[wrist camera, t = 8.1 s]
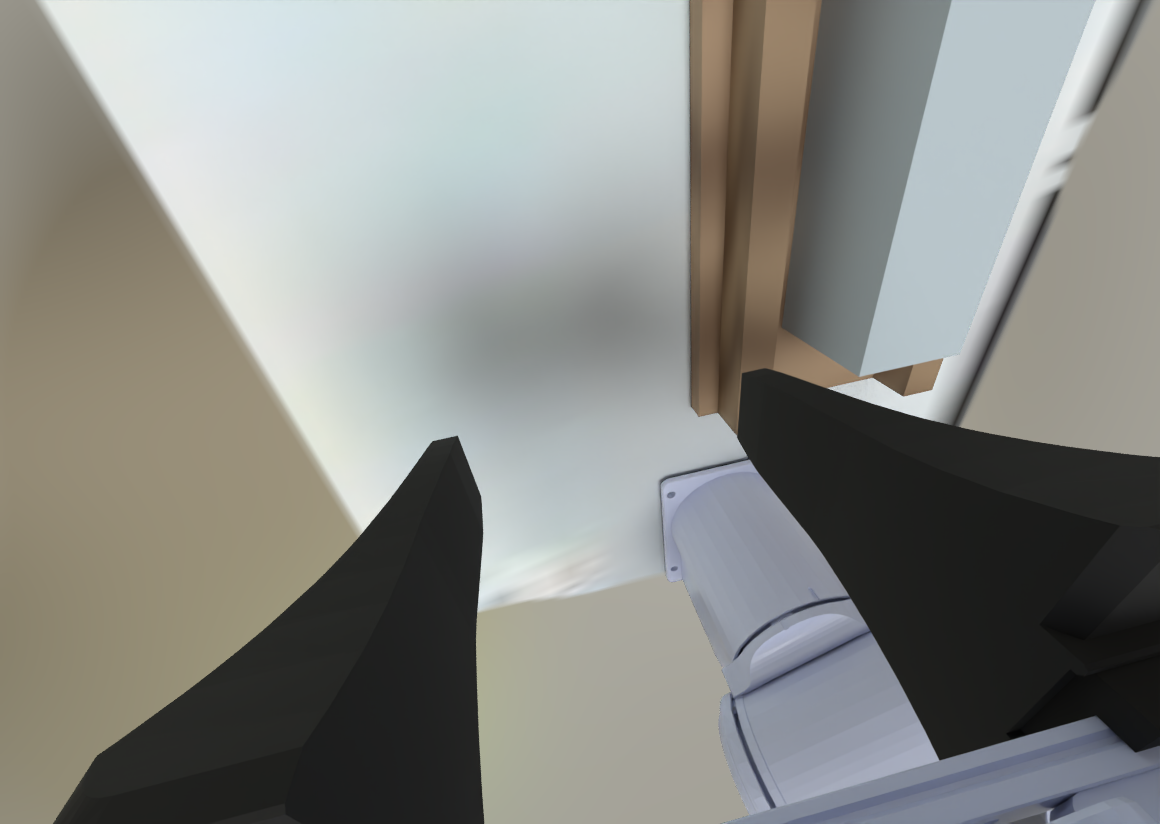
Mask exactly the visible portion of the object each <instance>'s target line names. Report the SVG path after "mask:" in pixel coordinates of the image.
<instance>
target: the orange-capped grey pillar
mask: <svg viewBox="0 0 1160 824" xmlns="http://www.w3.org/2000/svg"><path fill="white" fill-rule="evenodd" d="M1094 3H1095V0H822V4H821V12H820V20H819V28H818V36H817V45H816V53H815V61H814V69H813V77H812V86H811V94H810V102H809V110H808V118H807V126H806V135H805V143H804V151H803V159H802V167H801V175H800V184H799V192H798V200H797V208H796V216H795V225H794V233H793V241H792V249H791V257H790V265H789V274H788V282H787V290H786V298H785V306H784V314H783V323H782V328H783V329H785V330H786V331H788V332H790V333H791V334H793V335H794V336H796V337H797V338H799V339H801V340H802V341H804V342H805V343H807V344H808V345H810V346H811V347H813V348H815V349H816V350H818V351H819V352H821V353H822V354H824V355H825V356H827V357H829V358H830V359H832V360H833V361H835V362H836V363H838V364H840V365H841V366H843V367H844V368H846V369H847V370H849V371H850V372H852V373H854V374H855V375H857V376H858V377H861V376H866V375H870V374H874V373H879V372H883V371H888V370H892V369H897V368H901V367H906V366H910V365H914V364H919V363H923V362H928V361H932V360H937V359H941V358H946V357H950V356H954V355H959V354H960V352H961V349H962V347H963V344H964V342H965V339H966V336H967V334H968V331H969V329H970V326H971V323H972V321H973V318H974V316H975V313H976V310H977V308H978V305H979V303H980V300H981V297H982V295H983V292H984V289H985V287H986V284H987V282H988V279H989V276H990V274H991V271H992V269H993V266H994V263H995V261H996V258H997V256H998V253H999V250H1000V248H1001V245H1002V243H1003V240H1004V237H1005V235H1006V232H1007V230H1008V227H1009V224H1010V222H1011V219H1012V217H1013V214H1014V211H1015V209H1016V206H1017V203H1018V201H1019V198H1020V196H1021V193H1022V190H1023V188H1024V185H1025V183H1026V180H1027V177H1028V175H1029V172H1030V170H1031V167H1032V164H1033V162H1034V159H1035V157H1036V154H1037V151H1038V149H1039V146H1040V144H1041V141H1042V138H1043V136H1044V133H1045V131H1046V128H1047V125H1048V123H1049V120H1050V117H1051V115H1052V112H1053V110H1054V107H1055V104H1056V102H1057V99H1058V97H1059V94H1060V91H1061V89H1062V86H1063V84H1064V81H1065V78H1066V76H1067V73H1068V71H1069V68H1070V65H1071V63H1072V60H1073V58H1074V55H1075V52H1076V50H1077V47H1078V44H1079V42H1080V39H1081V37H1082V34H1083V31H1084V29H1085V26H1086V24H1087V21H1088V18H1089V16H1090V13H1091V11H1092V8H1093V5H1094Z"/></svg>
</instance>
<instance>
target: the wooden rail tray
mask: <svg viewBox="0 0 1160 824" xmlns="http://www.w3.org/2000/svg"><path fill="white" fill-rule="evenodd" d="M821 4H822V0H690V155H691V407H692V408H693V409H694V411H695V412H696V413H697V415H698V416H699V417H700V416H705V415H709V414H713V413H719V415H720V416H721V417H722V418H723V419H724V421H725V422H726V423H727V424H728V425H729V427H730V428H731V429H732V430H733V431H734V433H735V434H736V435H737V434H738V420H739V406H740V392H741V378H742V373H745V372H749V371H754V370H758V369H763V368H767V369H771V370H775V371H778V372H781V373H784V374H787V375H790V376H793V377H796V378H799V379H802V380H805V381H808V382H810V383H813V384H816V385H819V386H822V387H824V388H829V387H833V386H837V385H842V384H846V383H851V382H855V381H860V380H864V379H868V378H874V379H876V380H877V381H879V382H881V383H882V384H884V385H886V386H887V387H889V388H890V389H892V390H894V391H895V392H897V393H899V394H900V395H902V396H908V395H912V394H916V393H921V392H925V391H929V390H932V388H933V386H934V383H935V380H936V377H937V375H938V372H939V369H940V366H941V364H942V361H943V358H941V359H937V360H932V361H928V362H923V363H919V364H914V365H910V366H906V367H901V368H897V369H892V370H888V371H883V372H879V373H874V374H870V375H866V376H861V377H858V376H857V375H855V374H854V373H852V372H850V371H849V370H847V369H846V368H844V367H843V366H841V365H840V364H838V363H836V362H835V361H833V360H832V359H830V358H829V357H827V356H825V355H824V354H822V353H821V352H819V351H818V350H816V349H815V348H813V347H811V346H810V345H808V344H807V343H805V342H804V341H802V340H801V339H799V338H797V337H796V336H794V335H793V334H791V333H790V332H788V331H786V330H785V329H783V328H782V323H783V314H784V306H785V298H786V290H787V282H788V274H789V265H790V257H791V249H792V241H793V233H794V225H795V216H796V208H797V200H798V192H799V184H800V175H801V167H802V159H803V151H804V143H805V135H806V126H807V118H808V110H809V102H810V94H811V86H812V77H813V69H814V61H815V53H816V45H817V36H818V28H819V20H820V12H821Z"/></svg>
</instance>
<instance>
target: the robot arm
mask: <svg viewBox="0 0 1160 824" xmlns="http://www.w3.org/2000/svg"><path fill="white" fill-rule="evenodd" d="M737 438H738V440H739V442H740V444H741V445H742V447H743V449H744V451H745V452H746V454H747V456H748V458H749V459H750V460H746V461H742V462H737V463H733V464H729V465H725V466H720V467H716V468H712V469H707V470H703V471H699V472H695V473H690V474H686V475H682V476H678V477H673V478H669V479H666V480H665V481H663V482H662V484H661V500H662V517H663V534H664V551H665V568H666V577H667V579H668V581H670V582H676V581H680V580H683V582H684V584H685V586H686V589H687V591H688V593H689V596H690V598H691V600H692V602H693V605H694V607H695V609H696V612H697V614H698V616H699V618H700V621H701V623H702V626H703V628H704V630H705V632H706V635H707V637H708V639H709V642H710V644H711V646H712V649H713V651H714V653H715V656H716V657H717V659H718V661H719V663H720V664H721V666H722V667H723V669H722V672H723V674H724V677H725V679H726V681H727V684H728V686H729V688H730V691H731V692H729V693H727V694H725V695H724V696H723V697H722V699H721V701H720V715H719V734H720V739H721V743H722V747H723V751H724V754H725V757H726V760H727V763H728V766H729V769H730V772H731V774H732V777H733V779H734V782H735V784H736V786H737V789H738V791H739V794H740V796H741V798H742V800H743V802H744V805H745V807H746V809H747V811H748V813H749V816H746V817H742V818H738V819H735V820H731V821H728V822H724V823H721V824H1160V457H1149V456H1139V455H1129V454H1121V453H1113V452H1104V451H1097V450H1089V449H1081V448H1073V447H1066V446H1059V445H1053V444H1046V443H1040V442H1033V441H1028V440H1022V439H1017V438H1011V437H1006V436H1000V435H995V434H989V433H984V432H979V431H974V430H969V429H965V428H961V427H956V426H952V425H948V424H944V423H940V422H935V421H931V420H927V419H923V418H919V417H916V416H912V415H908V414H905V413H901V412H898V411H895V410H891V409H888V408H885V407H881V406H878V405H875V404H871V403H868V402H865V401H862V400H859V399H856V398H853V397H850V396H847V395H844V394H841V393H839V392H836V391H833V390H830V389H827V388H824V387H822V386H819V385H816V384H813V383H810V382H808V381H805V380H802V379H799V378H796V377H793V376H790V375H787V374H784V373H781V372H778V371H775V370H771V369H767V368H763V369H758V370H754V371H749V372H745V373H742V378H741V392H740V406H739V420H738V434H737ZM669 492H671V493H669ZM668 493H669V494H668ZM482 543H483V518H482V502H481V495H480V492H479V490H478V487H477V485H476V482H475V479H474V477H473V474H472V472H471V469H470V467H469V464H468V461H467V459H466V456H465V454H464V451H463V448H462V446H461V443H460V441H459V438H458V436H455V437H450V438H445V439H441V440H436V441H432V443H431V444H430V445H429V447H428V448H427V449H426V451H425V452H424V453H423V455H422V456H421V458H420V459H419V460H418V462H417V463H416V465H415V466H414V468H413V469H412V470H411V472H410V473H409V474H408V476H407V477H406V479H405V480H404V481H403V483H402V484H401V485H400V487H399V488H398V489H397V491H396V492H395V493H394V495H393V496H392V497H391V499H390V500H389V501H388V503H387V504H386V505H385V506H384V507H383V509H382V510H381V511H380V512H379V514H378V515H377V516H376V517H375V518H374V520H373V521H372V522H371V523H370V524H369V526H368V527H367V528H366V529H365V531H364V532H363V533H362V534H361V535H360V537H359V538H358V539H357V540H356V541H355V542H354V543H353V544H352V546H351V547H350V548H349V549H348V550H347V551H346V552H345V553H344V554H343V555H342V556H341V558H339V559H338V561H336V562H335V564H334V565H333V566H332V567H331V568H330V569H329V570H328V571H327V572H326V573H325V574H324V575H323V576H322V577H321V578H320V579H319V580H318V581H317V582H316V583H315V584H314V585H313V586H311V587H310V588H309V589H308V590H307V591H306V592H305V593H304V594H303V595H302V596H300V598H298V599H297V600H296V601H295V602H294V603H293V604H292V605H291V606H290V607H288V608H287V609H286V610H285V611H284V612H283V613H282V614H281V615H280V616H279V617H277V618H276V619H275V620H274V621H273V622H272V623H271V624H270V625H269V626H267V627H266V628H265V629H264V630H263V631H262V632H261V633H259V634H258V635H257V636H256V637H254V638H253V639H252V640H251V641H250V642H248V643H247V644H246V645H245V646H244V647H242V648H241V649H240V650H239V651H238V652H236V653H235V654H234V655H233V656H231V657H230V658H229V659H227V660H226V661H225V662H224V663H223V664H221V665H220V666H219V667H217V668H216V669H215V670H214V671H212V672H211V673H210V674H209V675H207V676H206V677H205V678H203V679H202V680H201V681H200V682H199V683H197V684H196V685H194V686H193V687H192V688H190V689H189V690H188V691H186V692H185V693H184V694H183V695H181V696H180V697H178V698H177V699H175V700H174V701H173V702H171V703H170V704H169V705H167V706H166V707H164V708H163V709H162V710H160V711H159V712H158V713H156V714H155V715H154V716H152V717H151V718H149V719H148V720H147V721H145V722H144V723H143V724H141V725H140V726H138V727H137V728H136V729H134V730H133V731H131V732H130V733H129V734H127V735H126V736H125V737H123V738H122V739H120V740H119V741H118V742H116V743H115V744H113V745H112V746H111V747H109V748H108V749H106V750H105V751H103V752H102V753H100V754H99V755H98V756H97V757H96V758H95V759H94V761H93V762H92V764H91V766H90V767H89V769H88V770H87V772H86V773H85V775H84V777H83V778H82V780H81V781H80V783H79V784H78V786H77V787H76V789H75V791H74V792H73V794H72V795H71V797H70V798H69V800H68V802H67V803H66V805H65V806H64V808H63V809H62V811H61V812H60V814H59V815H58V817H57V818H56V820H55V822H54V823H53V824H484V813H483V799H482V786H481V785H482V784H481V768H480V767H481V766H480V750H479V749H480V748H479V730H478V703H477V673H476V622H477V620H476V619H477V608H478V595H479V583H480V570H481V557H482Z"/></svg>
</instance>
